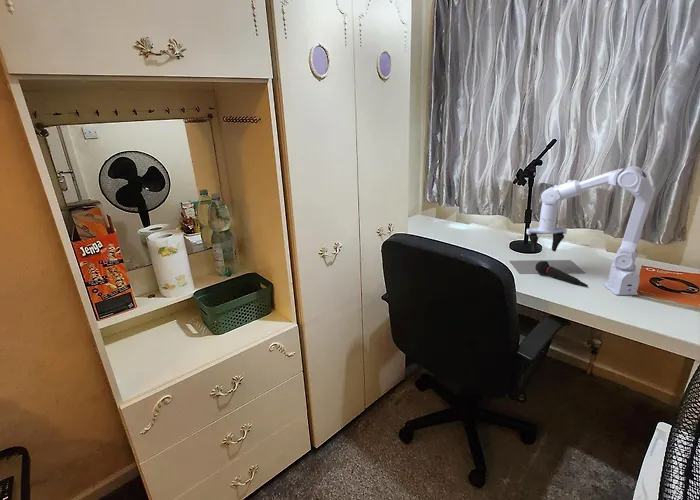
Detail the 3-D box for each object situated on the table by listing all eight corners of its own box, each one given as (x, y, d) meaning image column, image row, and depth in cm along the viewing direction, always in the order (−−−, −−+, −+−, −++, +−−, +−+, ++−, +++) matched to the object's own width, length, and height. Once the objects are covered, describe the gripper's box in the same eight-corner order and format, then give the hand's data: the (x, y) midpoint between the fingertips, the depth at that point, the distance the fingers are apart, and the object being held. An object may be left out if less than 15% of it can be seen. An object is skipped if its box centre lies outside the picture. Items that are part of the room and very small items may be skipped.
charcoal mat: (585, 273, 155) (585, 273, 155) (519, 273, 157) (519, 273, 157) (570, 260, 168) (570, 259, 168) (509, 260, 171) (509, 260, 170)
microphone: (586, 292, 146) (536, 271, 160) (593, 279, 144) (542, 258, 158) (581, 293, 142) (530, 271, 156) (588, 279, 141) (536, 258, 154)
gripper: (563, 215, 153) (558, 247, 158) (525, 216, 154) (521, 247, 159) (571, 220, 146) (565, 253, 151) (531, 220, 148) (527, 253, 153)
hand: (543, 250), depth 155 cm, fingers open, 7 cm apart
